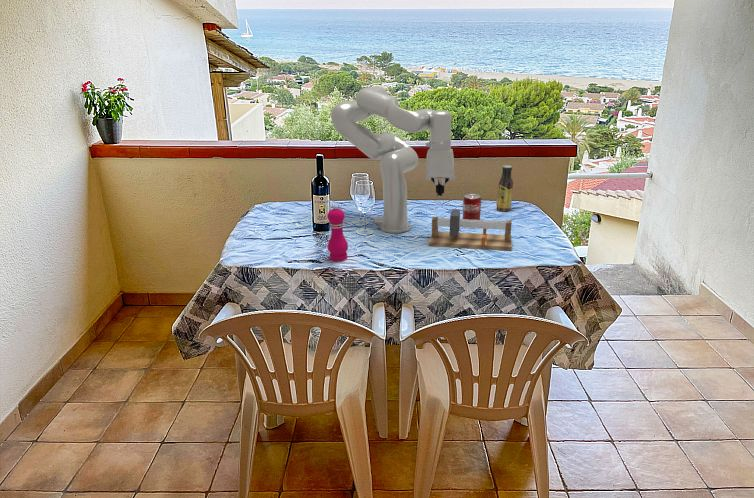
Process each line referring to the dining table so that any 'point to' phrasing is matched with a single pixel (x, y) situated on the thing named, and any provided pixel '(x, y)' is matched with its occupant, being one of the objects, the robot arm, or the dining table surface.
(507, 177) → the sauce bottle
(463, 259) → the dining table surface
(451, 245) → the pipe stand
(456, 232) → the collar
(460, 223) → the white long bar
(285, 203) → the dining table surface
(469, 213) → the soda can
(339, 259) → the pepper mill
